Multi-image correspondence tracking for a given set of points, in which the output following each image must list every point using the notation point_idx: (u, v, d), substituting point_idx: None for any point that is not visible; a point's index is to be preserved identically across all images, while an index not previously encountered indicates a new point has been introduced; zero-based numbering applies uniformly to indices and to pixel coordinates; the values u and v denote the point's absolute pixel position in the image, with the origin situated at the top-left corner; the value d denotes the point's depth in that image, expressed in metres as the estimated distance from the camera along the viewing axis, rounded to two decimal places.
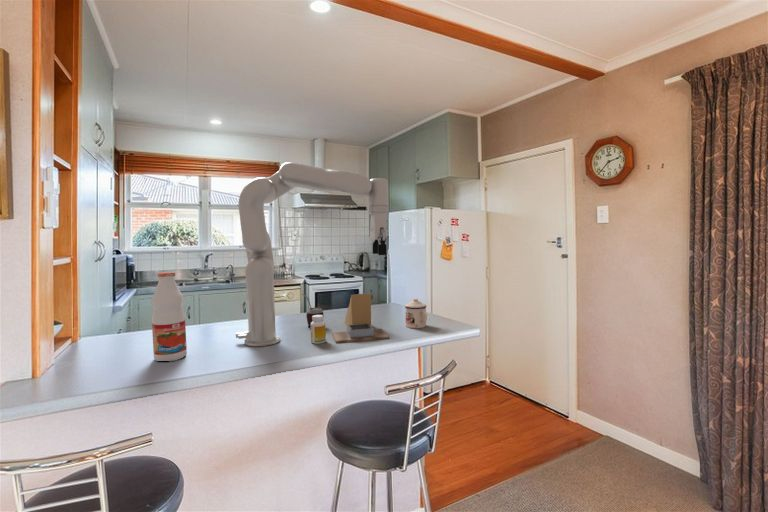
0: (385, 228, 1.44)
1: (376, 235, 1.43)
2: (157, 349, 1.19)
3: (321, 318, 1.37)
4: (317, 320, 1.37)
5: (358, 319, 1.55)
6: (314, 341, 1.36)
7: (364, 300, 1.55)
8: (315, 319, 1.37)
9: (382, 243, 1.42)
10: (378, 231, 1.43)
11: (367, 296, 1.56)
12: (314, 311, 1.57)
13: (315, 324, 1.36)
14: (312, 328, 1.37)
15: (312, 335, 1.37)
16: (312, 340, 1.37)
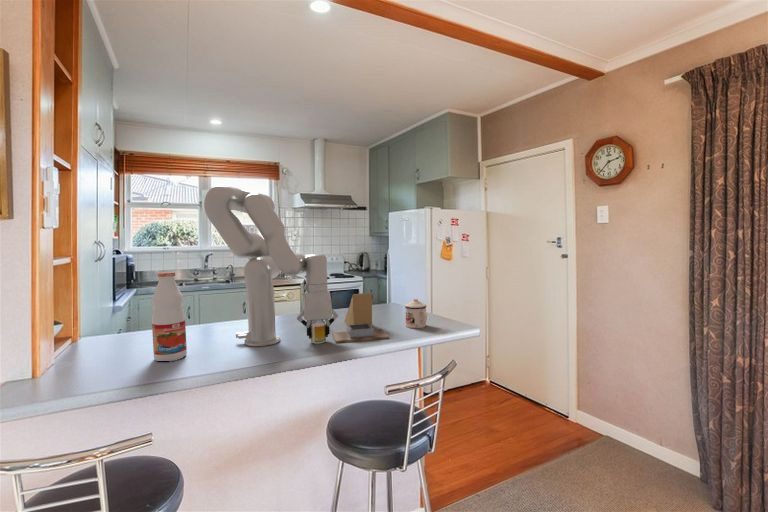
0: None
1: (331, 314, 1.37)
2: (157, 349, 1.19)
3: None
4: (317, 320, 1.37)
5: (359, 318, 1.56)
6: (314, 341, 1.36)
7: (365, 299, 1.57)
8: None
9: None
10: (331, 310, 1.38)
11: (368, 295, 1.57)
12: None
13: (315, 324, 1.36)
14: (312, 328, 1.37)
15: (312, 335, 1.37)
16: (312, 340, 1.37)
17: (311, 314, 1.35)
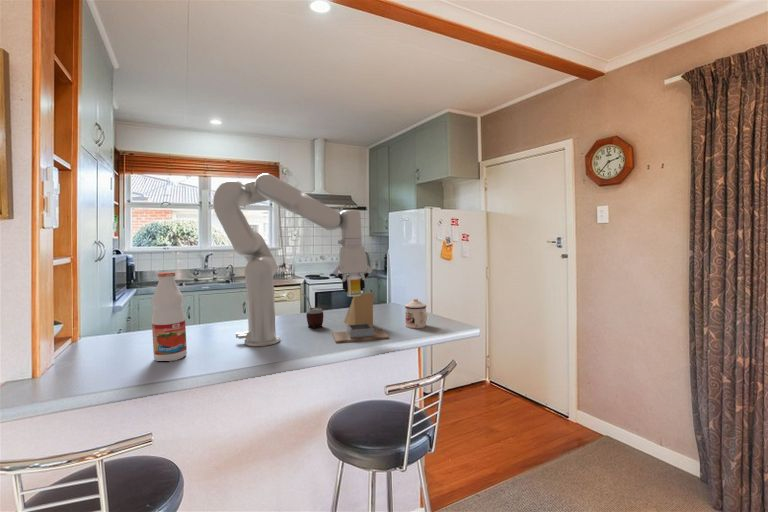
0: None
1: (366, 268, 1.42)
2: (157, 349, 1.19)
3: None
4: (353, 274, 1.41)
5: (360, 317, 1.57)
6: (350, 294, 1.41)
7: (366, 299, 1.58)
8: None
9: None
10: (366, 264, 1.42)
11: (369, 295, 1.58)
12: (314, 311, 1.57)
13: (351, 277, 1.40)
14: (348, 281, 1.41)
15: (348, 288, 1.41)
16: (348, 293, 1.41)
17: (347, 267, 1.39)
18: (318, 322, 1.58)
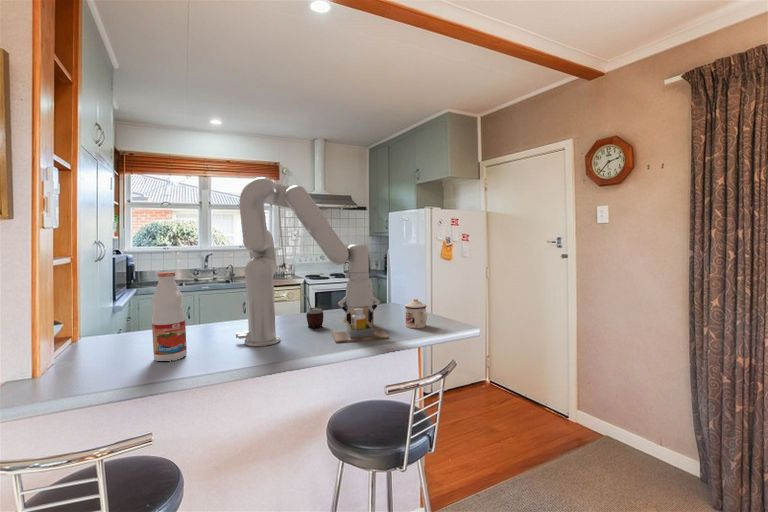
0: None
1: None
2: (157, 349, 1.19)
3: (362, 311, 1.44)
4: (358, 313, 1.43)
5: None
6: None
7: None
8: (357, 312, 1.43)
9: None
10: None
11: None
12: (314, 311, 1.57)
13: (357, 317, 1.42)
14: (354, 321, 1.43)
15: (354, 328, 1.43)
16: None
17: (354, 301, 1.41)
18: (318, 322, 1.58)
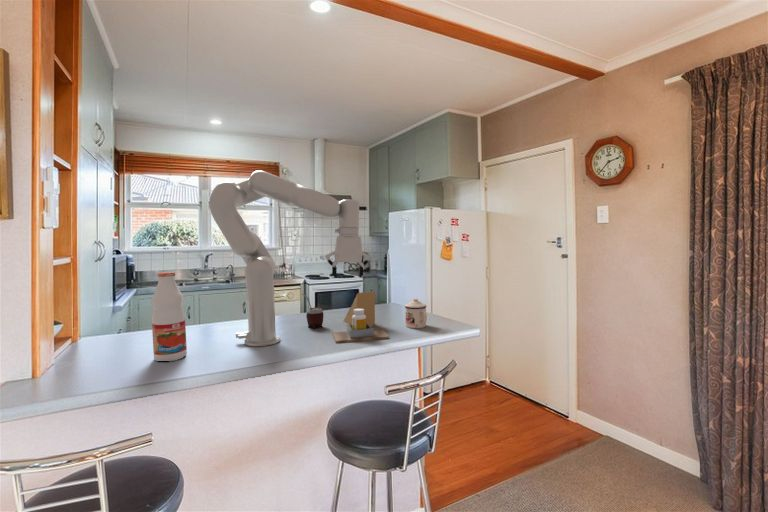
0: None
1: (361, 258, 1.43)
2: (157, 349, 1.19)
3: (362, 311, 1.43)
4: (359, 313, 1.43)
5: None
6: None
7: (368, 298, 1.60)
8: (357, 312, 1.43)
9: None
10: (361, 254, 1.44)
11: (371, 294, 1.61)
12: (314, 311, 1.57)
13: (357, 317, 1.42)
14: (354, 321, 1.43)
15: (354, 328, 1.43)
16: None
17: (342, 256, 1.41)
18: (318, 322, 1.58)
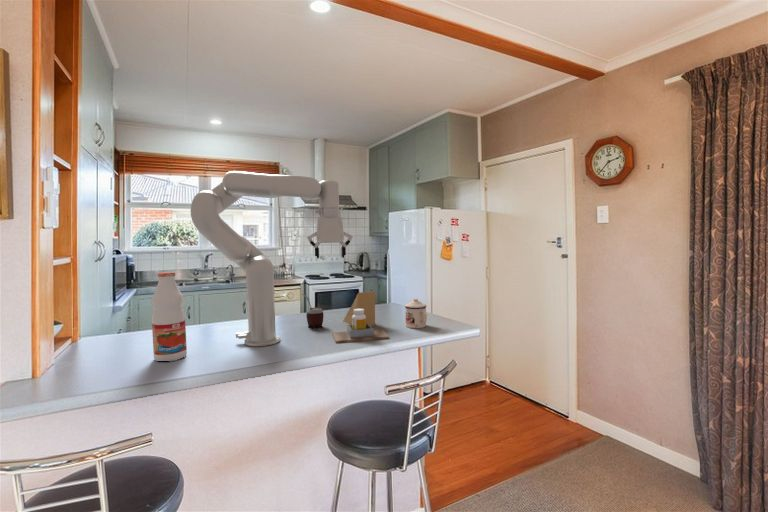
0: None
1: (343, 238, 1.45)
2: (157, 349, 1.19)
3: (362, 311, 1.43)
4: (359, 313, 1.43)
5: None
6: None
7: (369, 297, 1.61)
8: (357, 312, 1.43)
9: (346, 245, 1.47)
10: (343, 234, 1.46)
11: (372, 293, 1.62)
12: (314, 311, 1.57)
13: (357, 317, 1.42)
14: (354, 321, 1.43)
15: (354, 328, 1.43)
16: None
17: (324, 237, 1.42)
18: (318, 322, 1.58)
